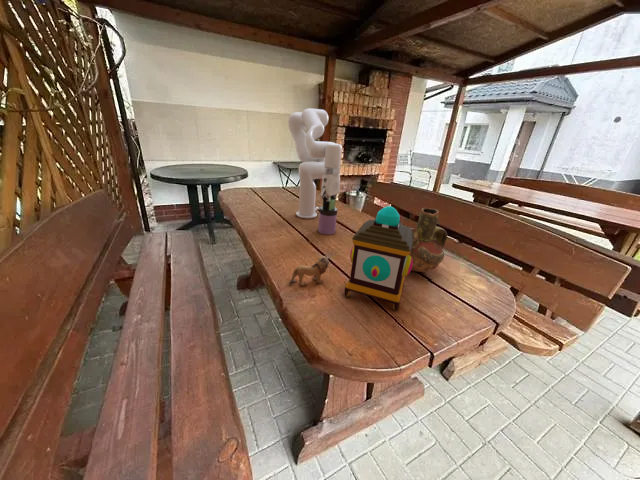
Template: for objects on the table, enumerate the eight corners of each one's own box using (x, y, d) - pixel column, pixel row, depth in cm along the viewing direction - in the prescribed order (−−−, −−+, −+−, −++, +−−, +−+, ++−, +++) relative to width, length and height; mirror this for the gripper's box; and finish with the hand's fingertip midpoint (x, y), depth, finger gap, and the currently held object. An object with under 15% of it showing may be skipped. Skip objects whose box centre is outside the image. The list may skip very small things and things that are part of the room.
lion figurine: (323, 274, 98) (325, 252, 94) (330, 281, 93) (332, 259, 90) (286, 281, 91) (286, 259, 88) (291, 290, 87) (292, 266, 83)
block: (327, 206, 135) (328, 198, 133) (334, 208, 133) (335, 199, 131) (322, 208, 132) (323, 199, 130) (329, 210, 129) (330, 201, 128)
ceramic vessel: (375, 264, 107) (385, 205, 97) (420, 254, 119) (433, 201, 109) (405, 286, 93) (420, 221, 83) (453, 273, 105) (471, 213, 95)
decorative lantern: (338, 297, 85) (348, 208, 73) (354, 270, 102) (364, 194, 90) (401, 316, 78) (424, 222, 66) (407, 283, 95) (426, 204, 83)
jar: (324, 226, 143) (326, 205, 138) (338, 231, 138) (340, 209, 134) (314, 231, 137) (316, 209, 132) (328, 236, 132) (330, 213, 127)
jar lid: (326, 209, 139) (326, 204, 138) (340, 213, 134) (340, 208, 133) (315, 212, 132) (316, 207, 131) (330, 216, 128) (330, 212, 127)
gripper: (327, 173, 117) (324, 212, 124) (347, 170, 129) (343, 206, 136) (314, 171, 121) (312, 209, 128) (335, 168, 133) (332, 203, 141)
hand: (328, 207), depth 132 cm, fingers closed on block, 4 cm apart
